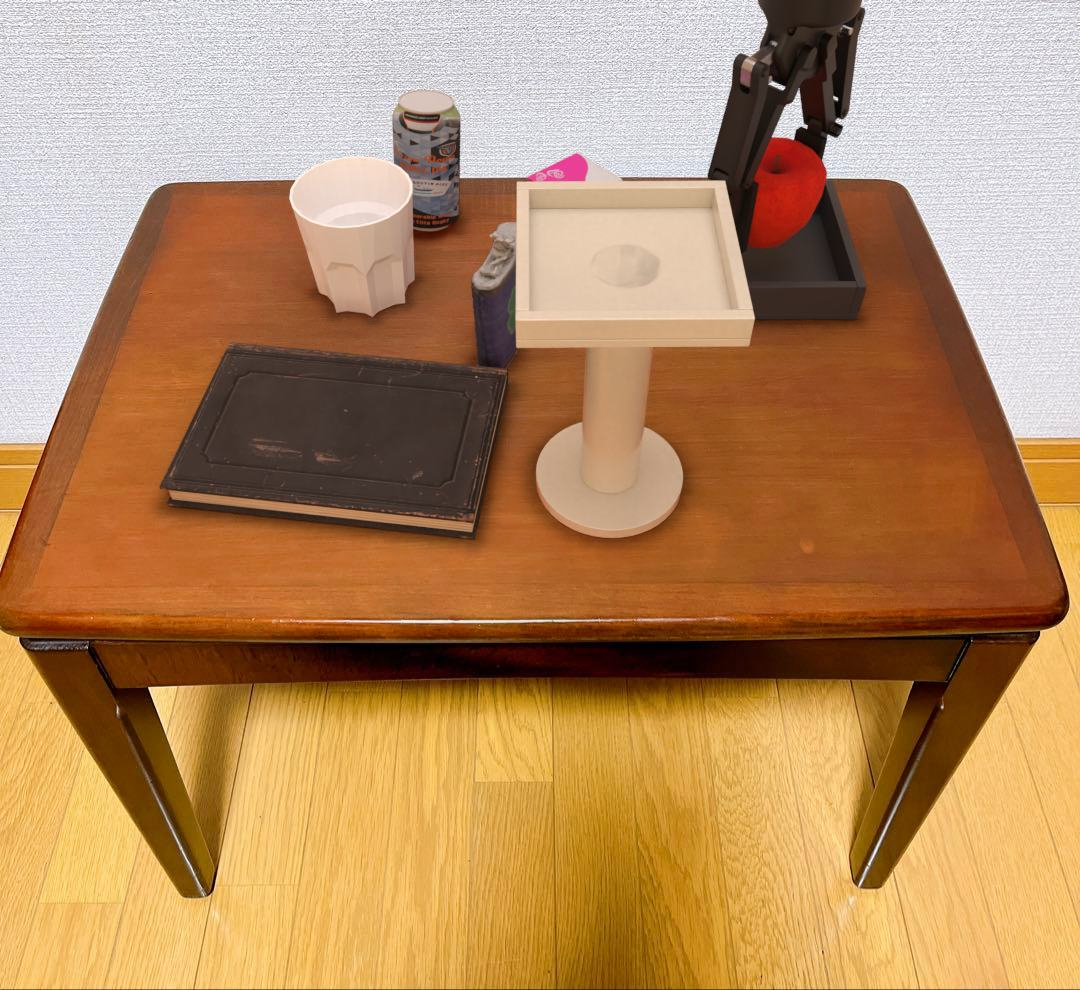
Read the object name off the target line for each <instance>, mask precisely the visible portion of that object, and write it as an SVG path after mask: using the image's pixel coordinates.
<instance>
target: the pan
mask: <svg viewBox="0 0 1080 990" xmlns="http://www.w3.org/2000/svg"><path fill="white" fill-rule="evenodd" d="M741 256H742V261H743V265H744V270H745V274H746V279H747V284H748V288H749V293H750V297H751V302H752V306H753V311H754V316H755V320H757V321H758V320H762V321H763V320H764V321H765V320H769V321H770V320H774V321H775V320H777V321H778V320H780V321H781V320H787V321H789V320H795V321H796V320H799V321H801V320H808V321H809V320H811V321H812V320H815V321H816V320H821V321H822V320H823V321H824V320H827V321H828V320H831V321H832V320H836V321H837V320H838V321H839V320H840V321H841V320H842V321H843V320H844V321H845V320H846V321H847V320H850V321H851V320H854V321H855V320H857V319H858V316H859V314H860V310H861V307H862V304H863V301H864V298H865V295H866V292H867V288H868V286H867V282H866V280H865V276H864V273H863V270H862V267H861V263H860V261H859V258H858V254H857V251H856V248H855V245H854V241H853V239H852V236H851V233H850V228H849V227H848V223H847V220H846V217H845V214H844V211H843V208H842V205H841V201H840V198H839V195H838V192H837V189H836V186H835V183H834V180H829V179H828V180H827V179H826V181H825V186H824V190H823V194H822V197H821V198H820V200H819V202H818V204H817V206H816V208H815V210H814V212H813V214H812V216H811V218H810V220H809V221H808V222H807V224H806V225H805V226H804V227H803V228H802V229H800V230H799V231H798V232H797V233H795V234H794V235H793V236H792V237H790V238H789V239H788V240H786V241H785V242H784V243H783V244H781V245H779V246H776V247H770V248H763V249H761V248H754V247H749V246H747V251H745V252H744V253H742V254H741Z"/></svg>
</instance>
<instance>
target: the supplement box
mask: <svg viewBox="0 0 1080 990" xmlns="http://www.w3.org/2000/svg"><path fill="white" fill-rule="evenodd" d="M551 181H624V180H623V179H622V178H621V177H620V176H618V175H616V174H615V173H613V172H611V171H609V170H608V169H606V168H604V167H602V166H601V165H600V164H597V162H594V161H593V160H592V159H590V158H588V157H587V156H585V154H582V153H581V152H579V151H577V152H575V153H573V154H571V155H570V156H566V157H565V158H563V159H561V160H559V161H557V162H555V163H552V164H551V165H549V166H547V167H544V168H543V169H540V170H539V171H536V172H535V173H532V174H530V175H528V176H527V177H526V182H551Z"/></svg>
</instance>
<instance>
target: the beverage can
mask: <svg viewBox="0 0 1080 990" xmlns="http://www.w3.org/2000/svg"><path fill="white" fill-rule="evenodd" d="M391 117H392V118H391V121H392V123H391V125H392V147H393V148H392V151H393V164H395V165H397V166H399V167H401V168H402V169H403V170H404V171H405V172H406V173H407V174H408V175H409V177H410V179H411V181H412V193H413V230H416V231H421V232H438V231H442V230H444V229H446V228H448V227H449V226H450V225H452V224H453V223H455V222H457V220H458V219H459V217H460V209H461V208H460V206H461V205H460V204H461V201H460V200H461V198H460V197H461V196H460V195H461V194H460V193H461V192H460V191H461V114H460V112H459V110H458V108H457V107H456V105H455V100H454V98H453V97H452V96H451V95H449V94H447V93H446V92H442V91H439V90H432V89H417V90H416V89H415V90H411V91H407V92H404V93H403V94H401V95H400V96H399V97H398V100H397V104H396V106H395V108H394V109H393V111H392V116H391Z"/></svg>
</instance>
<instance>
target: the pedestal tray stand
mask: <svg viewBox="0 0 1080 990" xmlns="http://www.w3.org/2000/svg"><path fill="white" fill-rule="evenodd" d="M515 201H516V203H515V204H516V205H515V207H516V208H515V209H516V210H515V211H516V213H515V215H516V216H515V219H516V220H515V223H516V304H515V326H516V348H518V349H546V348H547V349H558V348H560V349H561V348H563V349H564V348H565V349H566V348H569V349H571V348H573V349H575V348H576V349H577V348H578V349H581V348H583V349H584V348H585V353H584V355H585V357H584V375H583V395H582V396H583V398H582V399H583V401H582V416H581V417H582V419H581V421H579V422H576V423H574V424H572V425H569V426H567V427H565V428H564V429H562V430H561V431H559V432H557V433H556V434H555V435H553V436H552V437H551V438H550V439H549V440H548V441H547V442H546V444H545V445H544V447H543V448H542V450H541V451H540V453H539V456H538V457H537V462H536V465H535V488H536V491H537V494H538V497H539V500H540V501H541V503H542V505H543V506H544V508H545V510H547V512H548V513H549V514H550V516H552V518H554V519H555V520H556V521H558V522H559V523H561V524H562V525H563V526H565V527H567V528H569V529H571V530H573V531H574V532H577V533H581V534H582V535H587V536H591V537H594V538H595V537H596V538H603V539H622V538H627V537H633V536H637V535H641V534H644V533H646V532H648V531H650V530H652V529H654V528H655V527H658V526H659V525H660V524H662V523H663V522H664V521H665V520H666V519H668V517H669V516H670V515H671V514H672V513H673V511H674V510H675V508H676V507H677V505H678V504H679V501H680V498H681V496H682V495H681V494H682V489H683V482H684V470H683V465H682V462H681V460H680V457H679V456H678V454H677V453H676V451H675V449H674V448H673V446H671V444H670V442H668V441H667V440H666V439H665V438H664V437H663V436H661V435H660V434H659V433H657V432H655V431H654V430H652V429H650V428H649V427H647V426H645V425H646V417H647V407H648V401H649V391H650V381H651V373H652V364H653V357H654V356H653V355H654V349H655V348H713V347H714V348H715V347H717V348H718V347H721V348H722V347H723V348H724V347H725V348H726V347H731V348H732V347H737V348H738V347H739V348H740V347H750V344H751V339H752V335H753V330H754V325H755V316H754V311H753V306H752V302H751V297H750V293H749V288H748V284H747V279H746V274H745V270H744V265H743V261H742V256H741V251H740V247H739V242H738V238H737V233H736V228H735V224H734V219H733V215H732V210H731V205H730V201H729V196H728V192H727V187H726V182H725V181H712V180H623V181H551V182H527V181H516V200H515Z"/></svg>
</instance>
